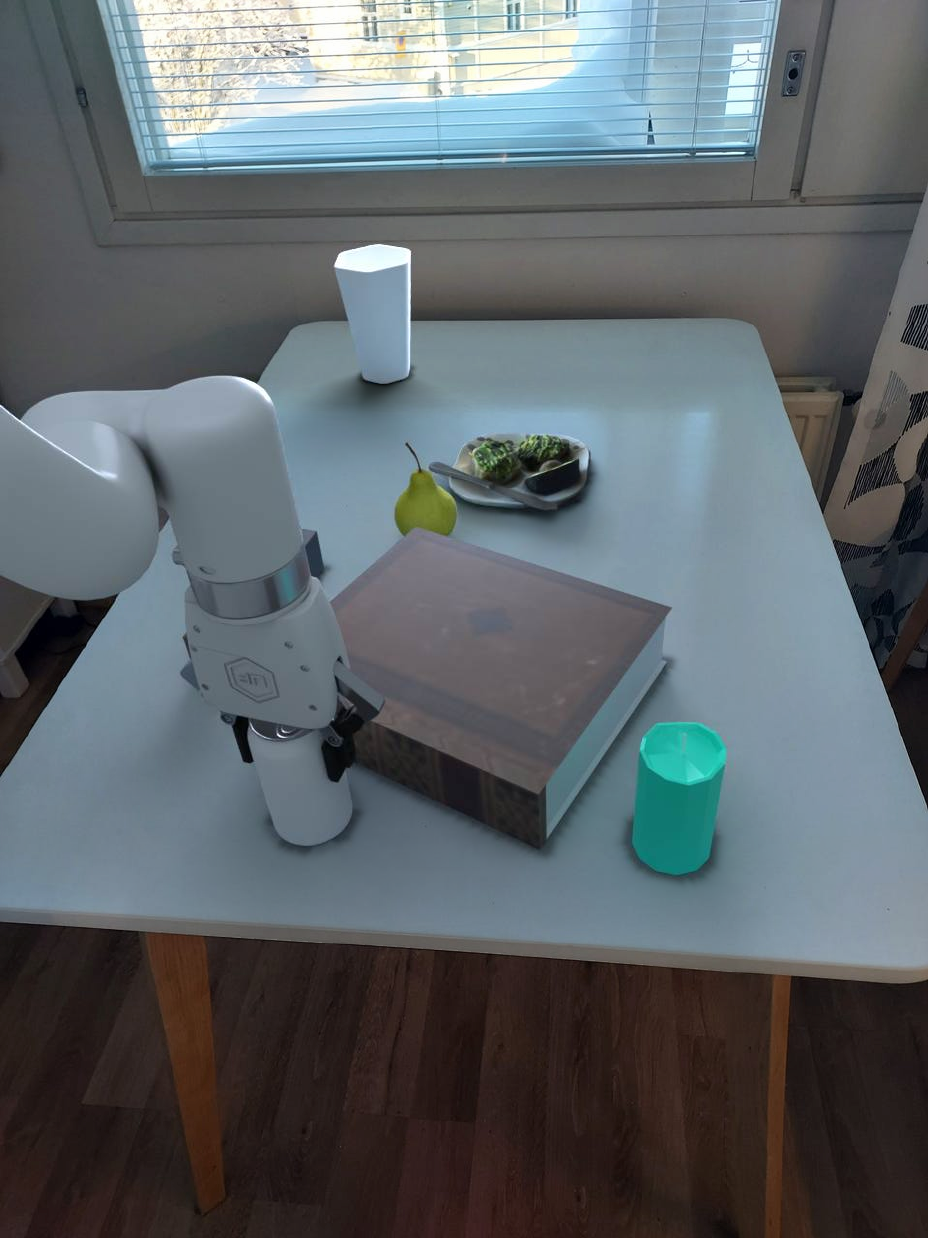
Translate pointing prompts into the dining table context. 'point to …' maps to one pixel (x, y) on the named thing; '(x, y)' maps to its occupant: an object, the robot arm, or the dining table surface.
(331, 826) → the can
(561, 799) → the book
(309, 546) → the block far
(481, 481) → the salad plate
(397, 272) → the cup
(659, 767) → the candle
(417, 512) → the fruit
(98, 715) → the dining table surface
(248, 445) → the robot arm
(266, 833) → the dining table surface
